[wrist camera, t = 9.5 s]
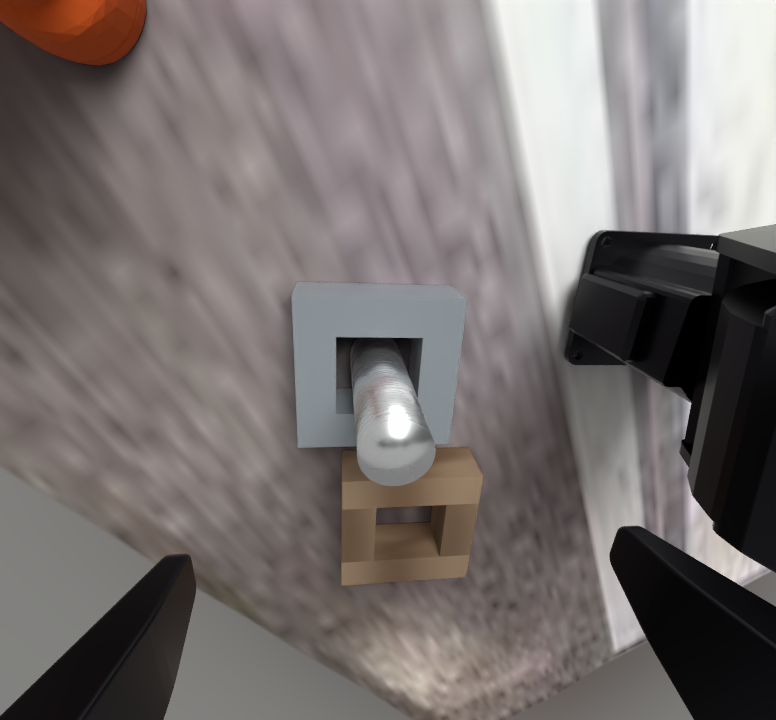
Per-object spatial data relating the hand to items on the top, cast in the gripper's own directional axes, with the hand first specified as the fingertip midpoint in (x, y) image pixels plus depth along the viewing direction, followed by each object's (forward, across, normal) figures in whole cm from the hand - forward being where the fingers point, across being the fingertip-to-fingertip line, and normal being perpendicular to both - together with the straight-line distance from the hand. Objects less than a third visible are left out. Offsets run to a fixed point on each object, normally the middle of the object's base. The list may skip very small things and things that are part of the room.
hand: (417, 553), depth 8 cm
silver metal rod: (+12, 0, 0) cm, 12 cm away
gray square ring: (+12, 0, 0) cm, 12 cm away
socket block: (+12, -2, +9) cm, 15 cm away
